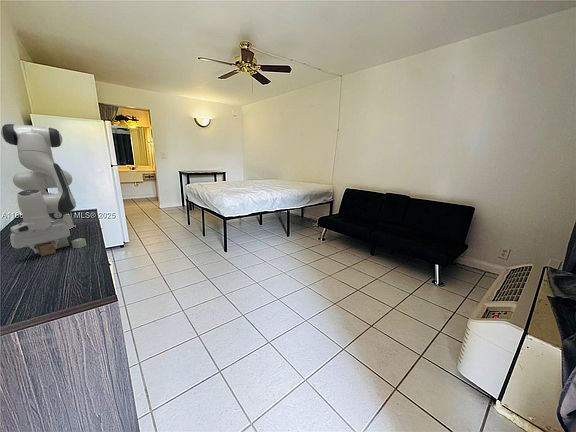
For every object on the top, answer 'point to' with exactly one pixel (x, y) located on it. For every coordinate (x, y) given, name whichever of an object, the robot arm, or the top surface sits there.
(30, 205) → the robot arm
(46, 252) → the walnut cube
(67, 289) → the top surface
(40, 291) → the top surface
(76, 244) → the sage block
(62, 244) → the light bulb box
